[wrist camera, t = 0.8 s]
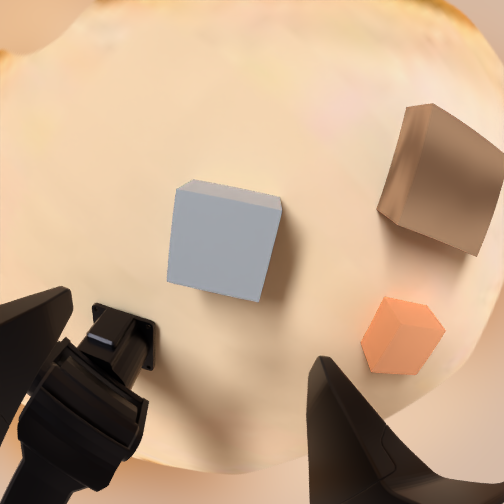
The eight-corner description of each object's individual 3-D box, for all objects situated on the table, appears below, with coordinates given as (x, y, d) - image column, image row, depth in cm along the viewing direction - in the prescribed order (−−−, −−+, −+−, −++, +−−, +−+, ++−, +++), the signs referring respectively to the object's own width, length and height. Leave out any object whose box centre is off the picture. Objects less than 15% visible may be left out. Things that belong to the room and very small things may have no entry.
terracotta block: (402, 346, 23) (416, 374, 20) (360, 341, 23) (371, 372, 20) (426, 304, 22) (445, 330, 18) (383, 295, 21) (400, 323, 18)
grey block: (260, 273, 21) (258, 302, 18) (183, 256, 21) (166, 281, 17) (279, 196, 19) (282, 210, 15) (194, 178, 19) (176, 189, 15)
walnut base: (450, 238, 19) (476, 257, 16) (375, 208, 19) (397, 225, 15) (477, 151, 16) (508, 157, 12) (404, 107, 16) (432, 103, 12)
